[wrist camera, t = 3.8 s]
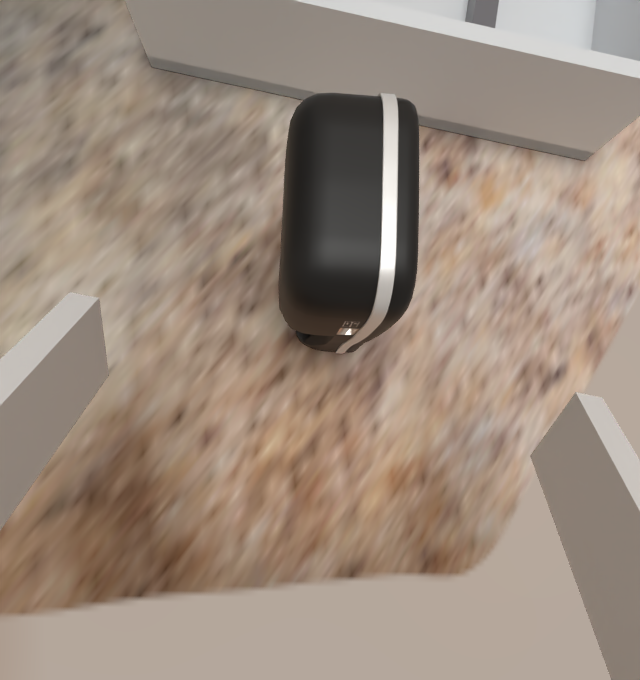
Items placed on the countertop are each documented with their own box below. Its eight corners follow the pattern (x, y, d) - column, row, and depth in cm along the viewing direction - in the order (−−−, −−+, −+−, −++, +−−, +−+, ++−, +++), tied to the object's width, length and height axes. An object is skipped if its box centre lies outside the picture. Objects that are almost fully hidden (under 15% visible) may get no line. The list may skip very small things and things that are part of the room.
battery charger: (286, 220, 24) (285, 53, 12) (359, 224, 24) (423, 65, 13) (279, 354, 23) (271, 306, 11) (356, 358, 23) (422, 314, 12)
